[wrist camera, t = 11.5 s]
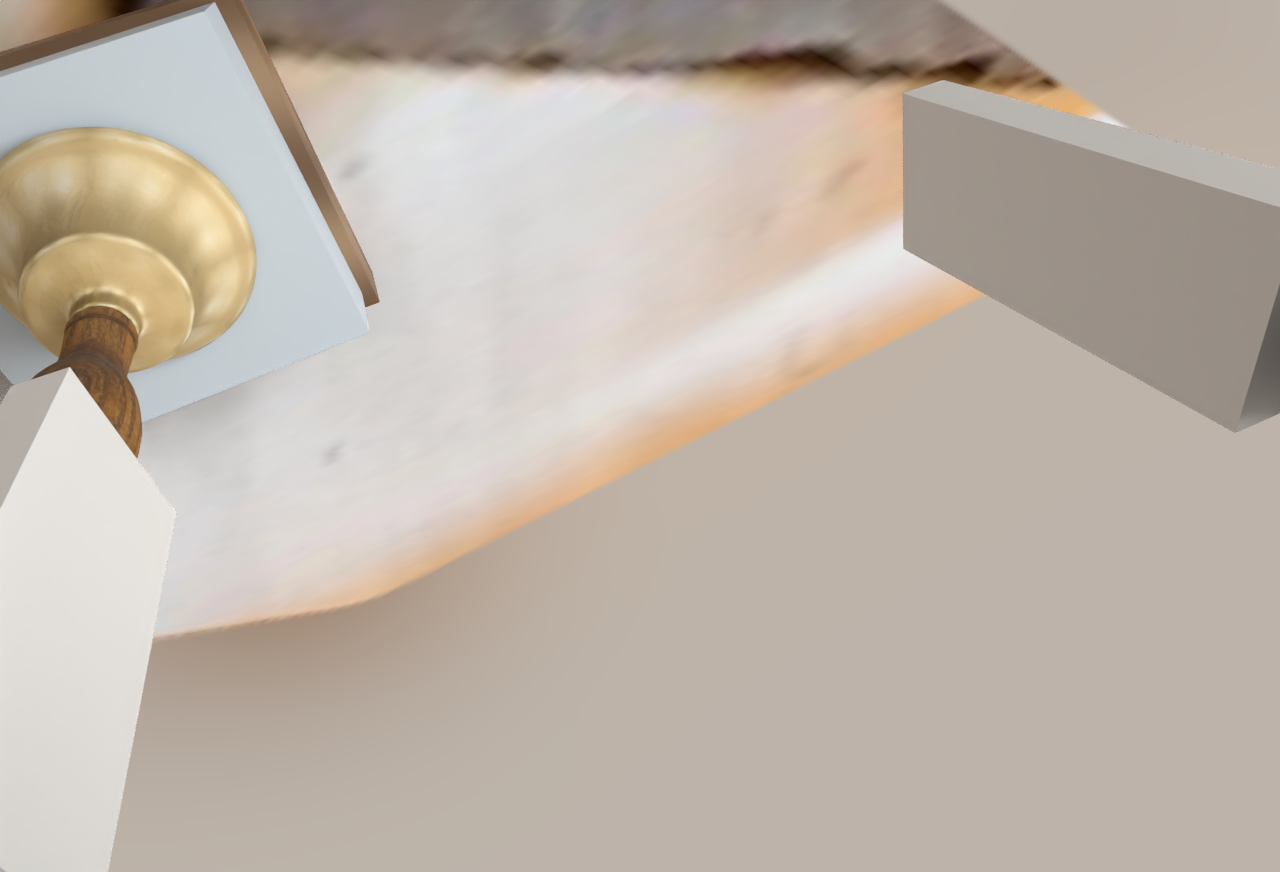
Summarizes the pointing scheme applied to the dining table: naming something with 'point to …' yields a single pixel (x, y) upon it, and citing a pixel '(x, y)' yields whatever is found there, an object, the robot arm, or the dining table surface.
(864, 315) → the dining table surface
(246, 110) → the top block
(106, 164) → the hand bell
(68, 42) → the bottom block
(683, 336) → the dining table surface
